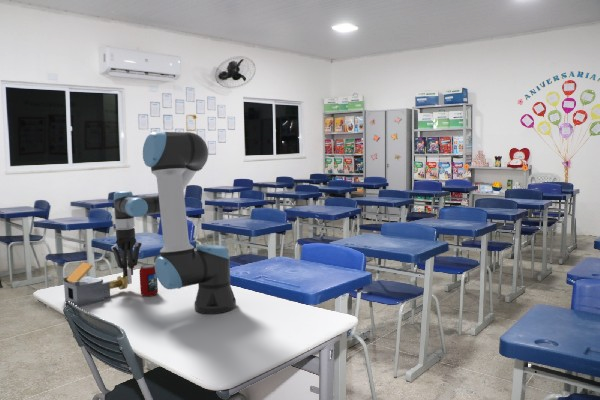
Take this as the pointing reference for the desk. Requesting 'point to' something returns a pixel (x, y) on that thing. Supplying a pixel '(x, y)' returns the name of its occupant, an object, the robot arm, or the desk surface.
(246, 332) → the desk surface
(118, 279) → the pin
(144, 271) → the beverage can
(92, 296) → the hitch block
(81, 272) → the plate
